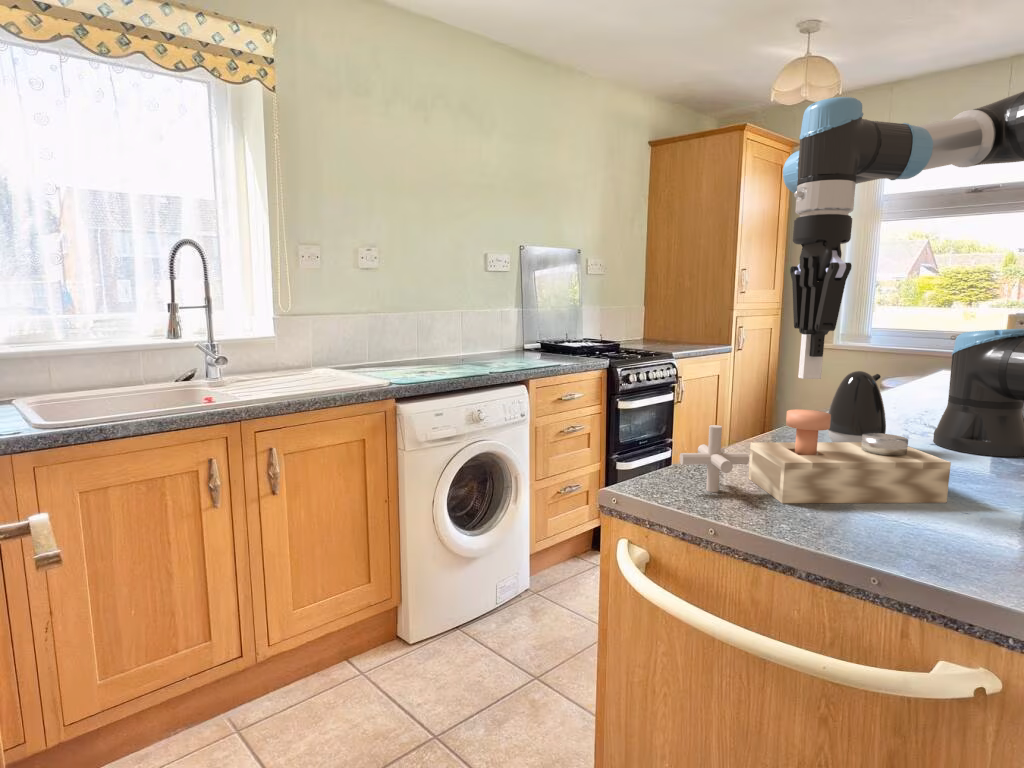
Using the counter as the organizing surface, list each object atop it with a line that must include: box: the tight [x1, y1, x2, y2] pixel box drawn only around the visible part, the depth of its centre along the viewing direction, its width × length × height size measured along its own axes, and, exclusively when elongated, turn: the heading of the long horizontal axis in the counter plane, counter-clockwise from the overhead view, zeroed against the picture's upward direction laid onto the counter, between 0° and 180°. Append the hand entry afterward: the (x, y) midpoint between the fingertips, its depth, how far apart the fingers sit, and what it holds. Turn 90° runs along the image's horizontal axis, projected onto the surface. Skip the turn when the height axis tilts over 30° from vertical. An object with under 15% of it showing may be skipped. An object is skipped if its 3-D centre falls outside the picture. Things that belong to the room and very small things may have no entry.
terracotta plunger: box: [785, 408, 831, 455], centre depth 93 cm, size 6×6×8 cm
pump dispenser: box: [827, 370, 887, 442], centre depth 119 cm, size 10×10×15 cm
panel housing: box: [748, 441, 952, 504], centre depth 94 cm, size 24×12×6 cm, turn 91°
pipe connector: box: [679, 424, 750, 493], centre depth 93 cm, size 10×10×10 cm
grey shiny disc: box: [861, 433, 909, 455], centre depth 94 cm, size 6×6×8 cm
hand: (809, 378), depth 92 cm, fingers closed
